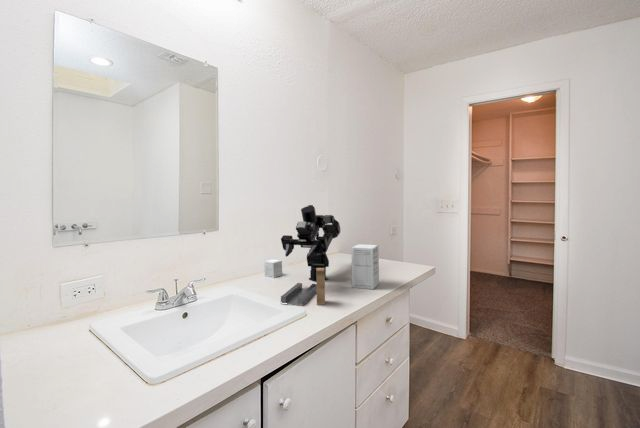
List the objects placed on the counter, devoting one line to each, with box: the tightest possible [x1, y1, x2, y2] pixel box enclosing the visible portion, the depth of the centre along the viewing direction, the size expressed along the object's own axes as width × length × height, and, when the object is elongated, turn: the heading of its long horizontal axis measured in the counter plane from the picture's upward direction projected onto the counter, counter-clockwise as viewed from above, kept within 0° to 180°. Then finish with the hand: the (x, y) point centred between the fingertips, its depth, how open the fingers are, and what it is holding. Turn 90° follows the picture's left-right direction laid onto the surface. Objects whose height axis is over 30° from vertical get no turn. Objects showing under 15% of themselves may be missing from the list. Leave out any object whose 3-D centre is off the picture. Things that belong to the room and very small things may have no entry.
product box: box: [264, 258, 283, 279], centre depth 150 cm, size 6×6×7 cm
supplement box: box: [351, 243, 380, 290], centre depth 131 cm, size 10×9×17 cm
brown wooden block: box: [316, 268, 326, 306], centre depth 111 cm, size 4×3×12 cm, turn 2°
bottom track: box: [280, 282, 317, 306], centre depth 118 cm, size 18×8×3 cm, turn 165°
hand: (297, 256), depth 118 cm, fingers open, 9 cm apart
